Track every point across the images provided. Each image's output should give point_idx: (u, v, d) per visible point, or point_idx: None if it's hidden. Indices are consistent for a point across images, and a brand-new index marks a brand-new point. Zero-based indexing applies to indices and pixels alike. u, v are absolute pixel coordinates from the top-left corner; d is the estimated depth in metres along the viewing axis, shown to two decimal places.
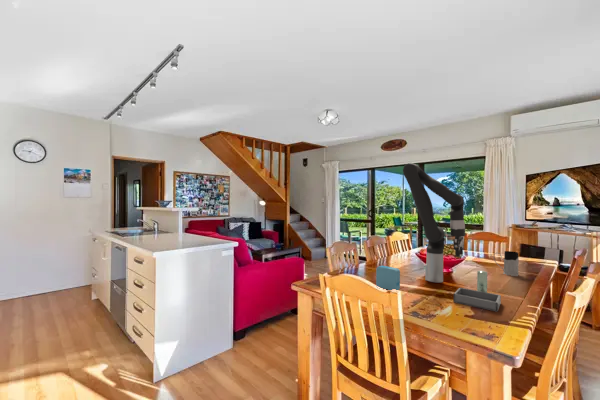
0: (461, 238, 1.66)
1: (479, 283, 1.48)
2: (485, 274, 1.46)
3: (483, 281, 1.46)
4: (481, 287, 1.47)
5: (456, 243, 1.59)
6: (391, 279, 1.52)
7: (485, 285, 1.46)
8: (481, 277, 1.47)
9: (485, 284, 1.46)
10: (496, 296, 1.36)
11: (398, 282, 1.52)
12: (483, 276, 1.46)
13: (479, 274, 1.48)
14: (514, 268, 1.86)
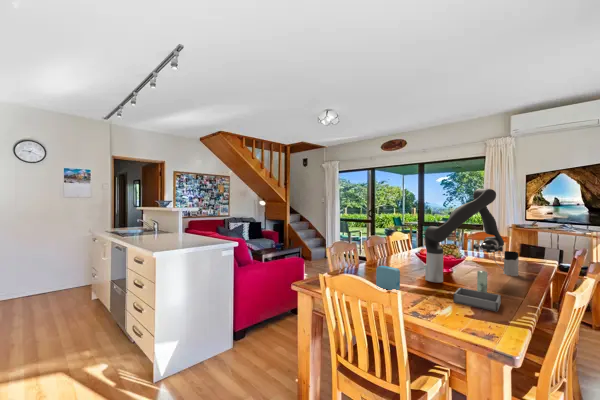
0: None
1: (479, 283, 1.48)
2: (485, 274, 1.46)
3: (483, 281, 1.46)
4: (481, 287, 1.47)
5: None
6: (391, 279, 1.52)
7: (485, 285, 1.46)
8: (481, 277, 1.47)
9: (485, 284, 1.46)
10: (496, 296, 1.36)
11: (398, 282, 1.52)
12: (483, 276, 1.46)
13: (479, 274, 1.48)
14: (514, 268, 1.86)
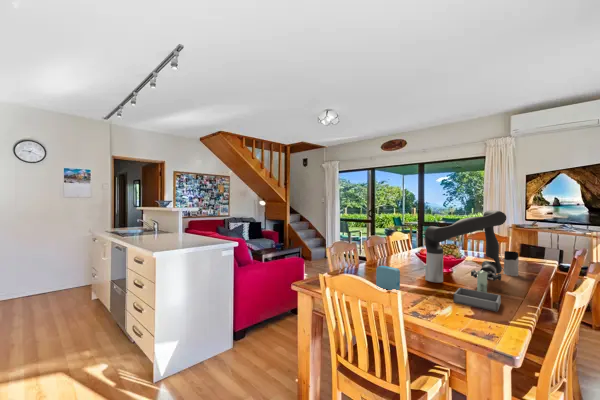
0: None
1: (479, 283, 1.48)
2: (485, 274, 1.46)
3: (483, 281, 1.46)
4: (481, 287, 1.47)
5: None
6: (391, 279, 1.52)
7: (485, 285, 1.46)
8: (481, 277, 1.47)
9: (485, 284, 1.46)
10: (496, 296, 1.36)
11: (398, 282, 1.52)
12: (483, 276, 1.46)
13: (479, 274, 1.48)
14: (514, 268, 1.86)
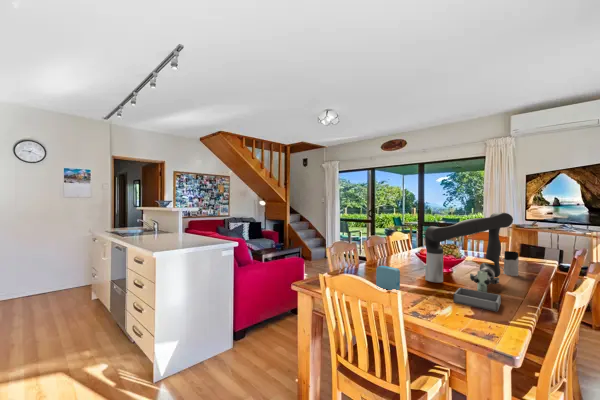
0: None
1: (479, 283, 1.47)
2: (485, 274, 1.46)
3: (483, 281, 1.46)
4: (481, 287, 1.47)
5: (497, 281, 1.48)
6: (391, 279, 1.52)
7: (485, 285, 1.46)
8: (481, 277, 1.47)
9: (485, 284, 1.46)
10: (496, 296, 1.36)
11: (398, 282, 1.52)
12: (483, 276, 1.46)
13: (479, 274, 1.48)
14: (514, 268, 1.86)
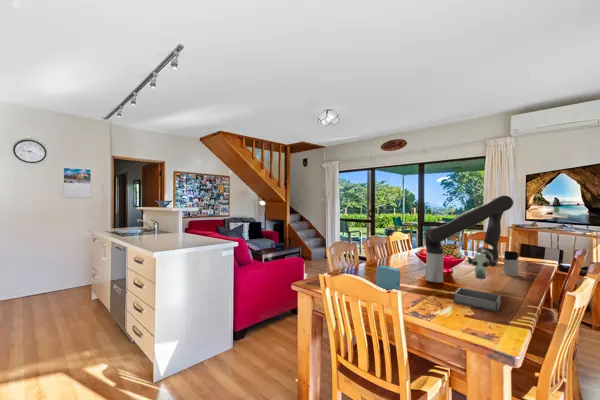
0: None
1: (477, 266, 1.40)
2: (483, 256, 1.39)
3: (481, 263, 1.39)
4: (480, 270, 1.39)
5: (496, 264, 1.41)
6: (391, 279, 1.52)
7: (484, 268, 1.39)
8: (479, 259, 1.39)
9: (484, 266, 1.39)
10: (496, 296, 1.36)
11: (398, 282, 1.52)
12: (481, 258, 1.39)
13: (477, 256, 1.40)
14: (514, 268, 1.86)
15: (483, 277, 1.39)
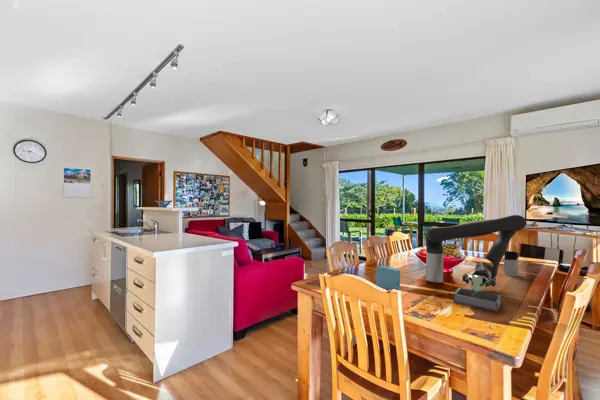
0: None
1: (473, 289, 1.35)
2: (480, 279, 1.34)
3: (478, 286, 1.34)
4: (476, 293, 1.35)
5: (495, 283, 1.36)
6: (391, 279, 1.52)
7: (480, 291, 1.34)
8: (476, 282, 1.35)
9: (480, 290, 1.34)
10: (496, 296, 1.36)
11: (398, 282, 1.52)
12: (478, 281, 1.34)
13: (473, 279, 1.36)
14: (514, 268, 1.86)
15: None
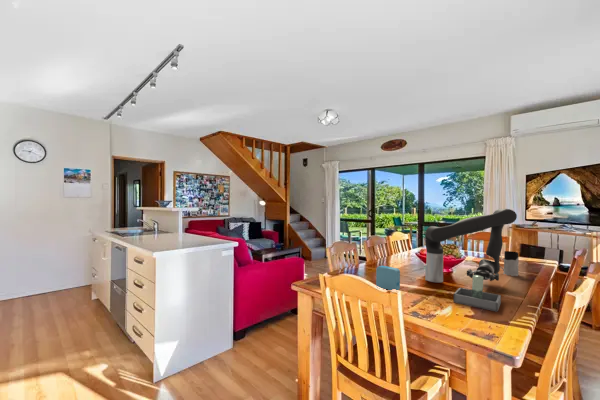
0: None
1: (474, 288, 1.35)
2: (481, 279, 1.34)
3: (479, 286, 1.34)
4: (477, 293, 1.34)
5: None
6: (391, 279, 1.52)
7: (481, 291, 1.34)
8: (477, 282, 1.34)
9: (481, 290, 1.34)
10: (496, 296, 1.36)
11: (398, 282, 1.52)
12: (479, 281, 1.34)
13: (475, 279, 1.35)
14: (514, 268, 1.86)
15: None
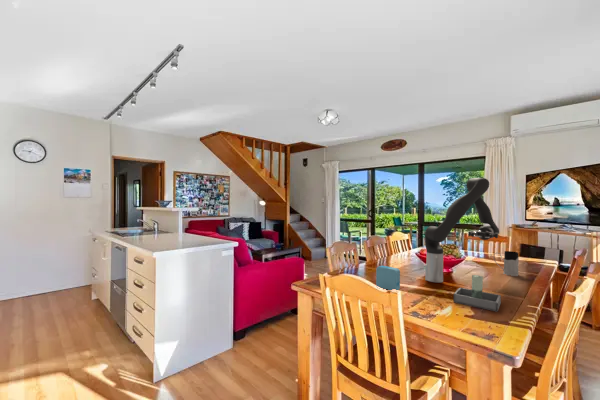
0: None
1: (474, 288, 1.35)
2: (481, 279, 1.34)
3: (479, 286, 1.34)
4: (477, 293, 1.35)
5: None
6: (391, 279, 1.52)
7: (481, 291, 1.34)
8: (476, 282, 1.35)
9: (481, 289, 1.34)
10: (496, 296, 1.36)
11: (398, 282, 1.52)
12: (479, 280, 1.34)
13: (474, 279, 1.36)
14: (514, 268, 1.86)
15: None
